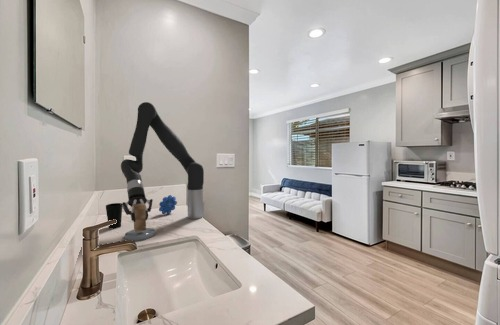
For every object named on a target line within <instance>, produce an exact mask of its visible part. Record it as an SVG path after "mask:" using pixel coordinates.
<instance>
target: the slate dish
mask: <svg viewBox="0 0 500 325" xmlns="http://www.w3.org/2000/svg"><path fill="white" fill-rule="evenodd" d="M155 235H156V230H155V228H152V227H146V230H143V231H138V232H135V230H134V229H132V230H129V231H126V232H125V234H124V239H125V241H128V240H134V241H133V242H139V241H145V240H149V239H150V238H153V237H154V236H155Z"/></svg>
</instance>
